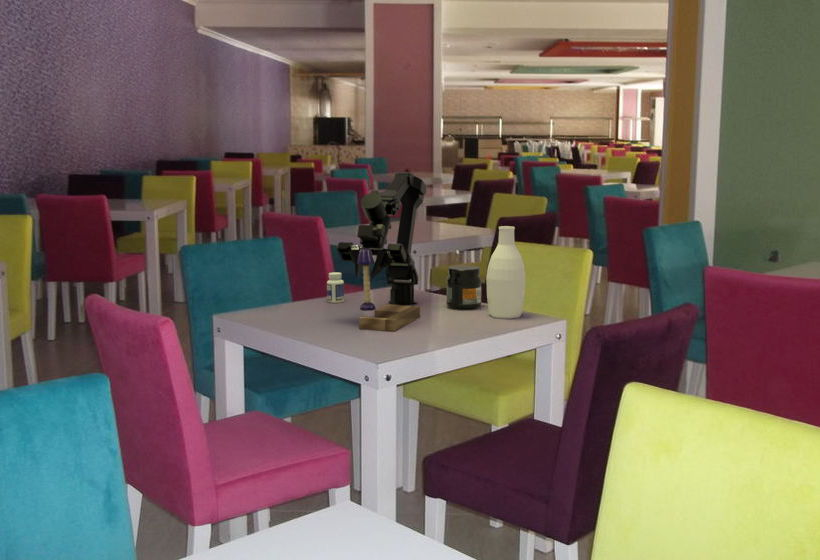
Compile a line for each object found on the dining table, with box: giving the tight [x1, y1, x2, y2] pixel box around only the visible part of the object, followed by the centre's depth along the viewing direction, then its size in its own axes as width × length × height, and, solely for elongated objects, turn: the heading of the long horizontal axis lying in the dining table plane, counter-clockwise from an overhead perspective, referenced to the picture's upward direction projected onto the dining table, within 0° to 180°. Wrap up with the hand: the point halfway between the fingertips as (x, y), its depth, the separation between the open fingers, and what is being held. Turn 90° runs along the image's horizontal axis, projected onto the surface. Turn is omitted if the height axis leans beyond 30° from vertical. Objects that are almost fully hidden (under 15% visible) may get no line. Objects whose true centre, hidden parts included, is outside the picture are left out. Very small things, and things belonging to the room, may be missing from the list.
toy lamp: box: [357, 248, 377, 312], centre depth 251 cm, size 5×5×17 cm
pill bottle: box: [326, 271, 345, 304], centre depth 286 cm, size 5×5×9 cm
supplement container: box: [446, 264, 483, 311], centre depth 276 cm, size 10×10×12 cm
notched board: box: [358, 303, 421, 332], centre depth 255 cm, size 10×20×3 cm, turn 160°
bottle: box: [485, 225, 527, 319], centre depth 262 cm, size 11×11×25 cm
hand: (364, 277), depth 250 cm, fingers closed on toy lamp, 4 cm apart
